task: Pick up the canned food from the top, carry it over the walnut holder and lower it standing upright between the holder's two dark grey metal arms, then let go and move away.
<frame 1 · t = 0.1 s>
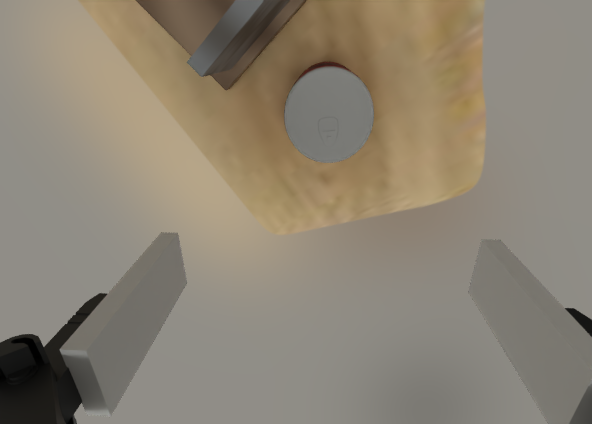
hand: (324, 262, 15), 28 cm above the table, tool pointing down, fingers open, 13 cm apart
canned food: (326, 99, 39), on the table
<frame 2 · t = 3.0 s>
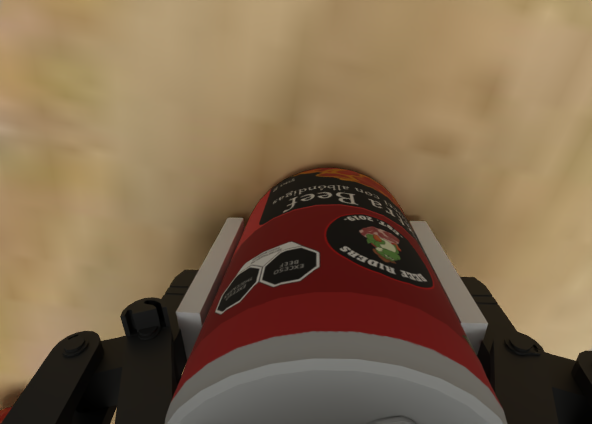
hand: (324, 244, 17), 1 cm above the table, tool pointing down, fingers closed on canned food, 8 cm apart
canned food: (324, 235, 17), on the table, touching gripper
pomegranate: (51, 415, 26), on the table
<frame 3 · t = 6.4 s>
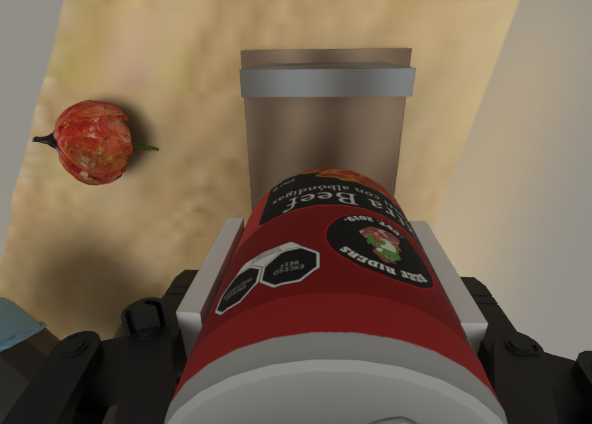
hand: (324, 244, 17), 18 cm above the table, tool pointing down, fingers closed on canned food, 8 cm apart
canned food: (324, 235, 17), point 17 cm above the table, touching gripper
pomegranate: (122, 134, 34), on the table
holder: (322, 146, 33), on the table
when the fingers open (4 cm above the table, at t = 9.8 s): canned food drops 1 cm, resting on holder.
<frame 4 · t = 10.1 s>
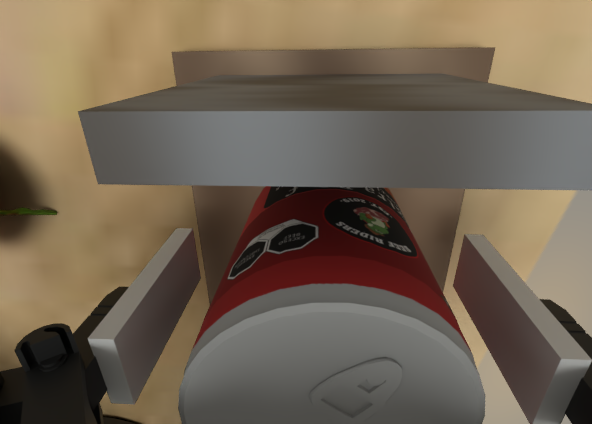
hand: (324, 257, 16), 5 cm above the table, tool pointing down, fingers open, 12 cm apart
canned food: (322, 222, 19), point 1 cm above the table, touching holder
holder: (323, 211, 20), on the table
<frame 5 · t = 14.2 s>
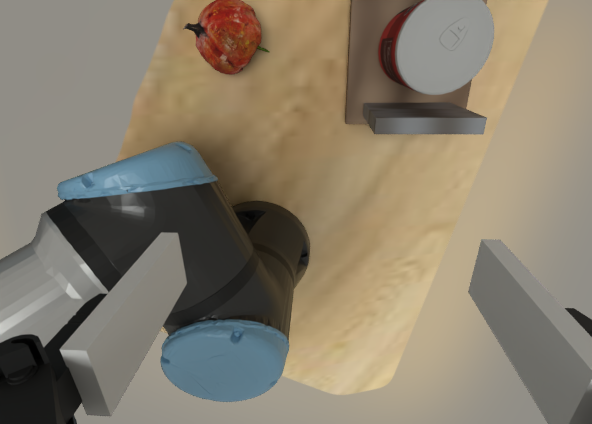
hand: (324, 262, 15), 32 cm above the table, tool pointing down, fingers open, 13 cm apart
canned food: (412, 46, 38), point 1 cm above the table, touching holder
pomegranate: (238, 38, 40), on the table
holder: (410, 46, 39), on the table
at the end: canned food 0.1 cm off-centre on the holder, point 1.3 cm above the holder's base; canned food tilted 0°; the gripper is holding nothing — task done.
